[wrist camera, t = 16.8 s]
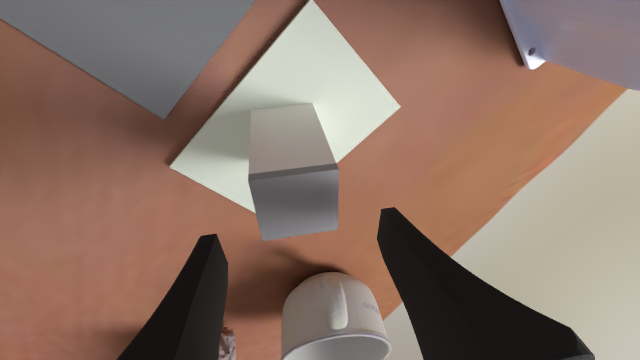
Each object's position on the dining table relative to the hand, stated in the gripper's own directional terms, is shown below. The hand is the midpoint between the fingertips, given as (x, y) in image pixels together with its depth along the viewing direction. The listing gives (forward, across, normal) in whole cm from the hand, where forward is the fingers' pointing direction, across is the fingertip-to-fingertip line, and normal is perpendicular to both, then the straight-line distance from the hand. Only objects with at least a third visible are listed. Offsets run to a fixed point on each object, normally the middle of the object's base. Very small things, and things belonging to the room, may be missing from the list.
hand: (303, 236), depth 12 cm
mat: (+10, 0, 0) cm, 10 cm away
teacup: (+10, -2, +19) cm, 22 cm away
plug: (+9, 0, 0) cm, 9 cm away
